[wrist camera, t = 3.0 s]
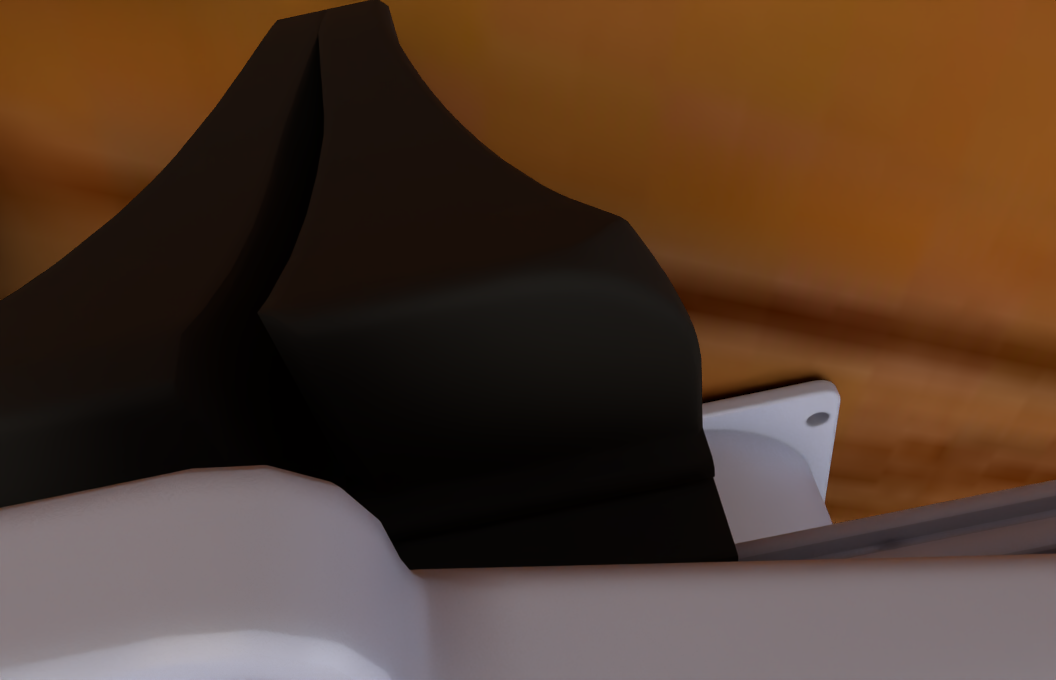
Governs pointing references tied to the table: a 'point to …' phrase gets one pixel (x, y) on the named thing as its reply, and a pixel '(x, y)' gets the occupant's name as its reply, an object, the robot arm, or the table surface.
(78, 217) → the table surface
